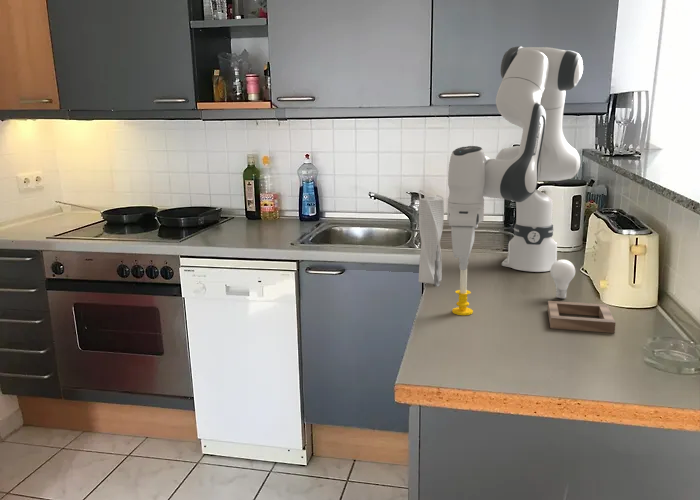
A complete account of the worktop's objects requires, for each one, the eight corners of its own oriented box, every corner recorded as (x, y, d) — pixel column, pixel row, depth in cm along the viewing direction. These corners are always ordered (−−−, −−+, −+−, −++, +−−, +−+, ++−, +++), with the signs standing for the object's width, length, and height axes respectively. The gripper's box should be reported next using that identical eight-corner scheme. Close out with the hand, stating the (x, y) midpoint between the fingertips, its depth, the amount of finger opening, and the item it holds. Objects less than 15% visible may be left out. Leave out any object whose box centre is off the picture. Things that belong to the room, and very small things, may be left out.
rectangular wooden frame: (547, 310, 154) (548, 300, 154) (605, 314, 151) (606, 304, 150) (550, 328, 141) (551, 318, 140) (614, 332, 137) (615, 322, 137)
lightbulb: (553, 294, 168) (556, 256, 166) (576, 298, 164) (579, 259, 162) (545, 299, 163) (547, 260, 161) (568, 303, 159) (571, 263, 157)
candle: (476, 314, 151) (478, 254, 148) (456, 316, 150) (458, 255, 147) (468, 308, 156) (469, 250, 153) (449, 309, 155) (450, 251, 152)
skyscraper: (411, 285, 179) (412, 191, 173) (421, 279, 186) (422, 188, 180) (438, 288, 175) (440, 193, 169) (447, 282, 182) (450, 190, 176)
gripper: (456, 207, 158) (455, 258, 161) (448, 219, 139) (446, 277, 142) (480, 207, 157) (479, 259, 160) (475, 220, 137) (473, 278, 140)
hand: (463, 267), depth 151 cm, fingers closed, pressing on candle
